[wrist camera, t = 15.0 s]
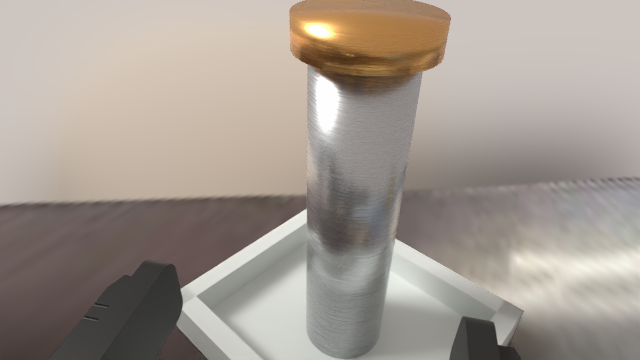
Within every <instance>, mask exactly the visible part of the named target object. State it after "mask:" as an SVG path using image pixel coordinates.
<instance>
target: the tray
mask: <svg viewBox="0 0 640 360" xmlns="http://www.w3.org/2000/svg"><path fill="white" fill-rule="evenodd" d="M306 257H307V209H306V210H304V211H302V212H301V213H299V214H298V215H296V216H295V217H293V218H291V219H290V220H288V221H287V222H285V223H284V224H282V225H280V226H279V227H277V228H276V229H274V230H273V231H271V232H269V233H268V234H266V235H265V236H263V237H262V238H260V239H258V240H257V241H255V242H254V243H252V244H251V245H249V246H247V247H246V248H244V249H243V250H241V251H240V252H238V253H236V254H235V255H233V256H232V257H230V258H229V259H227V260H225V261H224V262H222V263H221V264H219V265H218V266H216V267H215V268H213V269H211V270H210V271H208V272H207V273H205V274H204V275H202V276H200V277H199V278H197V279H196V280H194V281H193V282H191V283H189V284H188V285H186V286H185V287H183V288H182V289H181V293H182V298H183V306H182V311H181V314H180V317H179V319H178V321H177V323H176V324H177V327H178V328H179V329H180V330H181V331H182V332H183V333H184V334H185V335H186V336H187V337H188V339H189V340H190V341H191V342H192V343H193V344H194V345H195V346H196V347H197V348H198V349H199V350H200V351H201V352H202V353H203V355H204V356H205V357H206V358H207V359H208V360H449V358H450V352H451V348H452V345H453V342H454V339H455V336H456V333H457V330H458V327H459V324H460V321H461V318H462V317H463V316H466V317H471V318H477V319H482V320H488V321H492V322H494V324H495V328H496V335H497V342H498V345H502V346H508V345H509V343H510V342H511V340H512V338H513V335H514V333H515V331H516V328H517V326H518V324H519V321H520V319H521V316H522V314H523V312H524V311H523V310H521V309H519V308H517V307H516V306H514V305H512V304H510V303H508V302H507V301H505V300H503V299H501V298H500V297H498V296H496V295H494V294H493V293H491V292H489V291H487V290H485V289H484V288H482V287H480V286H478V285H477V284H475V283H473V282H471V281H469V280H468V279H466V278H464V277H462V276H461V275H459V274H457V273H455V272H454V271H452V270H450V269H448V268H446V267H445V266H443V265H441V264H439V263H438V262H436V261H434V260H432V259H431V258H429V257H427V256H425V255H423V254H422V253H420V252H418V251H416V250H415V249H413V248H411V247H409V246H407V245H406V244H404V243H402V242H400V241H399V240H397V239H395V244H394V250H393V256H392V263H391V269H390V275H389V281H388V287H387V293H386V299H385V305H384V312H383V318H382V324H381V330H380V335H379V339H378V341H377V343H376V345H375V346H374V347H373V348H372V349H371V350H370V351H369V352H367V353H366V354H364V355H362V356H360V357H357V358H352V359H339V358H334V357H331V356H328V355H326V354H324V353H322V352H321V351H320V350H318V349H317V348H316V347H315V346H314V345H313V344H312V342H311V341H310V339H309V337H308V334H307V330H306Z"/></svg>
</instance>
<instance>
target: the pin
mask: <svg viewBox="0 0 640 360" xmlns="http://www.w3.org/2000/svg"><path fill="white" fill-rule="evenodd" d="M450 20H451V17H450V15H449V14H448V13H447V12H445V11H444V10H442V9H440V8H438V7H435V6H432V5H429V4H426V3H422V2H418V1H413V0H305V1H302V2H299V3H297V4H295V5H293V6H292V7H291V9H290V49H291V52H292V54H293V55H294V56H295V57H296V58H298V59H299V60H301V61H302V62H304V63H306V64H308V101H307V102H308V103H307V113H308V114H307V116H308V117H307V257H306V330H307V334H308V337H309V339H310V341H311V342H312V344H313V345H314V346H315V347H316V348H317V349H318V350H320V351H321V352H322V353H324V354H326V355H328V356H331V357H334V358H339V359H352V358H357V357H360V356H362V355H364V354H366V353H367V352H369V351H370V350H371V349H372V348H373V347H374V346H375V345H376V343H377V341H378V339H379V335H380V330H381V324H382V318H383V312H384V305H385V299H386V293H387V287H388V281H389V275H390V269H391V263H392V256H393V250H394V244H395V238H396V232H397V226H398V220H399V213H400V207H401V201H402V195H403V189H404V183H405V177H406V170H407V164H408V158H409V152H410V146H411V140H412V134H413V127H414V121H415V115H416V109H417V103H418V97H419V91H420V84H421V78H422V72H423V71H425V70H428V69H431V68H433V67H435V66H437V65H438V64H439V63H441V61H442V60H443V57H444V52H445V46H446V42H447V36H448V31H449V25H450Z"/></svg>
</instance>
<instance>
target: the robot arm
mask: <svg viewBox="0 0 640 360" xmlns="http://www.w3.org/2000/svg"><path fill="white" fill-rule="evenodd" d="M182 306H183V298H182V293H181V289H180V285H179V281H178V277H177V273H176V269H175V266H174V265H173V264H169V263H163V262H158V261H152V260H146V261H144V262H143V263H142V264H141V265H140V266H139V268H138V269H137V270H136V271H135V273H134V274H133V275H132V276H128V275H124V276H123V277H121V278H120V279H119V280H117V281H116V282H114V283H113V284H111V285H110V286H109V287H107V288H106V290H105V291H104V292H103V293H102V295H101V296H100V297H99V298H98V300H97V301H96V302H95V305H94V306H92V307H91V308H90V309H89V311H88V312H87V313H86V314H85V317H84V319H81V321H80V322H79V323H78V324H77V325H76V327H75V328H74V329H73V330H72V332H71V333H70V334H69V335H68V337H67V338H66V339H65V340H64V341H63V343H62V344H61V345H60V346H59V348H58V349H57V350H56V351H55V353H54V354H53V355H52V356H51V357H50V359H49V360H155V359H156V357H157V355H158V354H159V352H160V350H161V349H162V347H163V345H164V343H165V342H166V340H167V338H168V337H169V335H170V333H171V331H172V330H173V328H174V326H175V325H176V323H177V321H178V319H179V317H180V314H181V311H182ZM449 360H521V359H520V357H519V355H518V354H517V352H516V350H515V349H514V348H512V347H507V346H502V345H498V342H497V335H496V328H495V324H494V322H492V321H488V320H482V319H477V318H471V317H466V316H463V317H462V318H461V321H460V324H459V327H458V330H457V333H456V336H455V339H454V342H453V345H452V348H451V352H450V358H449Z"/></svg>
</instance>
